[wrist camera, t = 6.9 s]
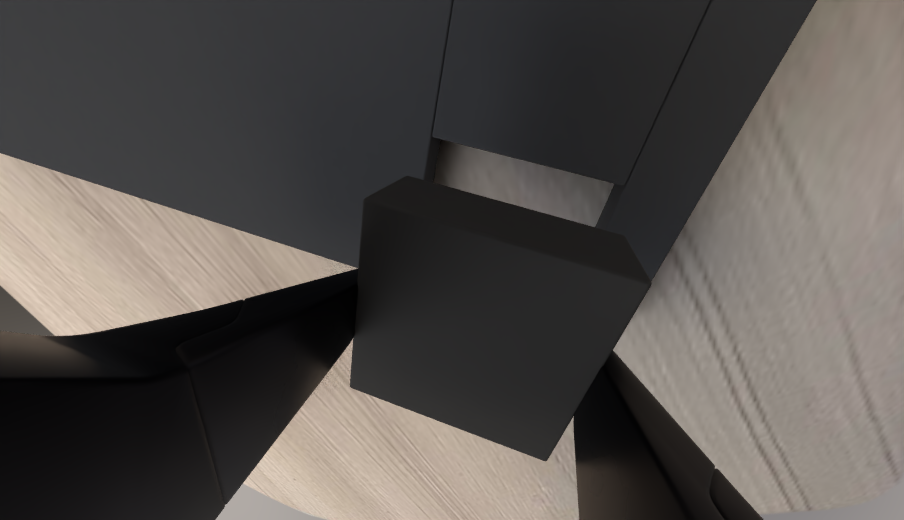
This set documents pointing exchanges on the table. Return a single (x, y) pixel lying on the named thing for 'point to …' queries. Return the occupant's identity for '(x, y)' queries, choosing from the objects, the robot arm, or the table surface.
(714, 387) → the table surface
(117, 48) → the mat
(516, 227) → the black block
